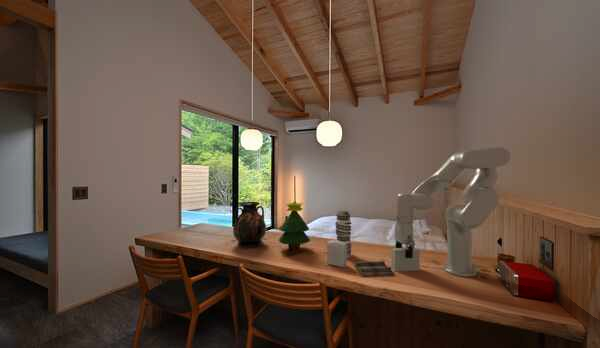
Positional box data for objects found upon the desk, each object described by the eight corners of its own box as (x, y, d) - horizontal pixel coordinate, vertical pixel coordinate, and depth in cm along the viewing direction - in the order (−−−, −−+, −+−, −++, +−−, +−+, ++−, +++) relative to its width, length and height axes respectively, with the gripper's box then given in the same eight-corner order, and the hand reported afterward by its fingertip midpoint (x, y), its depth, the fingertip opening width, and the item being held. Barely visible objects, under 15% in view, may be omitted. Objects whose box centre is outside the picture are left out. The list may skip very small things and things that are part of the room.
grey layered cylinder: (350, 252, 137) (350, 210, 137) (352, 258, 127) (352, 212, 127) (335, 252, 137) (334, 210, 137) (336, 257, 128) (335, 212, 128)
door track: (383, 265, 117) (383, 259, 117) (394, 275, 105) (394, 269, 105) (354, 265, 117) (354, 260, 117) (361, 276, 105) (361, 270, 105)
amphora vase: (235, 252, 138) (235, 205, 138) (231, 242, 158) (230, 201, 158) (270, 247, 147) (270, 203, 147) (261, 238, 167) (261, 200, 167)
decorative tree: (274, 254, 134) (274, 202, 134) (283, 244, 153) (282, 199, 153) (307, 256, 131) (307, 203, 131) (311, 245, 150) (311, 199, 150)
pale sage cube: (416, 268, 114) (415, 247, 114) (419, 270, 111) (419, 249, 111) (392, 268, 113) (392, 248, 113) (395, 271, 110) (394, 250, 110)
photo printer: (347, 265, 117) (347, 241, 117) (345, 268, 114) (344, 243, 114) (329, 261, 123) (328, 238, 123) (325, 264, 119) (325, 240, 119)
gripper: (389, 215, 120) (388, 248, 120) (406, 222, 103) (405, 261, 103) (403, 215, 121) (402, 248, 121) (422, 223, 103) (421, 261, 103)
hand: (403, 254), depth 112 cm, fingers open, 9 cm apart
